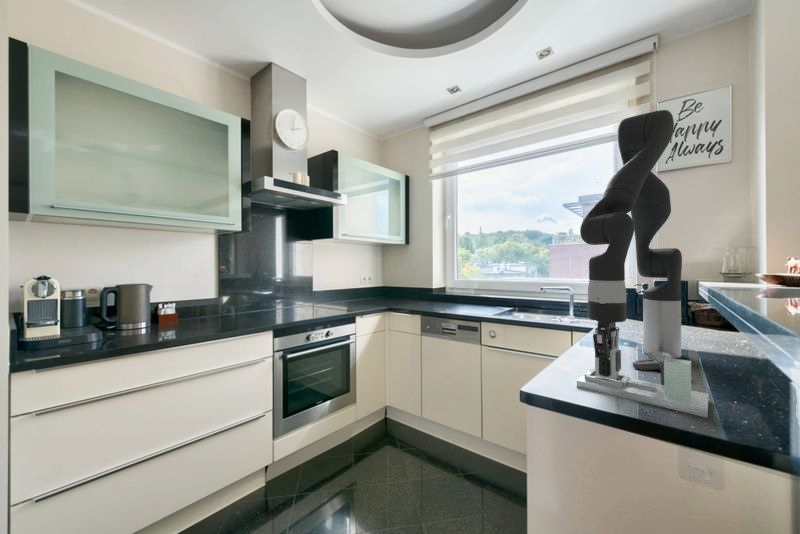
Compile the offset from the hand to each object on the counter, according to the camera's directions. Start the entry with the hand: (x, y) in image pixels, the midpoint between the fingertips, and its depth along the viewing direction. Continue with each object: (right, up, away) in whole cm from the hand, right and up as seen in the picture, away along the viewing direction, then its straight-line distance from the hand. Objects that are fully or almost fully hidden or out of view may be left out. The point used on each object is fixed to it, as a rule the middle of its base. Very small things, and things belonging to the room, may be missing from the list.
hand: (606, 372), depth 75 cm
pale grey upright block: (0, -1, 0) cm, 1 cm away
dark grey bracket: (+21, -3, +13) cm, 25 cm away
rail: (+4, -3, -4) cm, 7 cm away
